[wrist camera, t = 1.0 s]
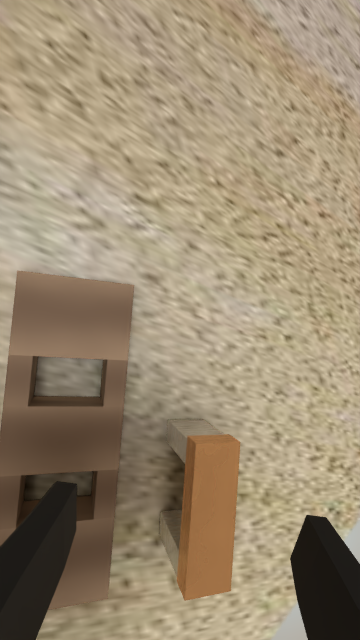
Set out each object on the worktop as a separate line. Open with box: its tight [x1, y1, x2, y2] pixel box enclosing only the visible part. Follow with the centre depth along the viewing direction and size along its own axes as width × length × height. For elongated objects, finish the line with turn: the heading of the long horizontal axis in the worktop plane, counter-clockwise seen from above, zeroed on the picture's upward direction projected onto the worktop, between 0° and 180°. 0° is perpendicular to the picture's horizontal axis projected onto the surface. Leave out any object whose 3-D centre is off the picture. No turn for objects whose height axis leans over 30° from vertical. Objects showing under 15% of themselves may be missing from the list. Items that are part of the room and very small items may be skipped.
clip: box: [159, 419, 240, 600], centre depth 22 cm, size 9×3×6 cm, turn 175°
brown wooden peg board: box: [0, 271, 134, 610], centre depth 21 cm, size 20×7×3 cm, turn 175°
